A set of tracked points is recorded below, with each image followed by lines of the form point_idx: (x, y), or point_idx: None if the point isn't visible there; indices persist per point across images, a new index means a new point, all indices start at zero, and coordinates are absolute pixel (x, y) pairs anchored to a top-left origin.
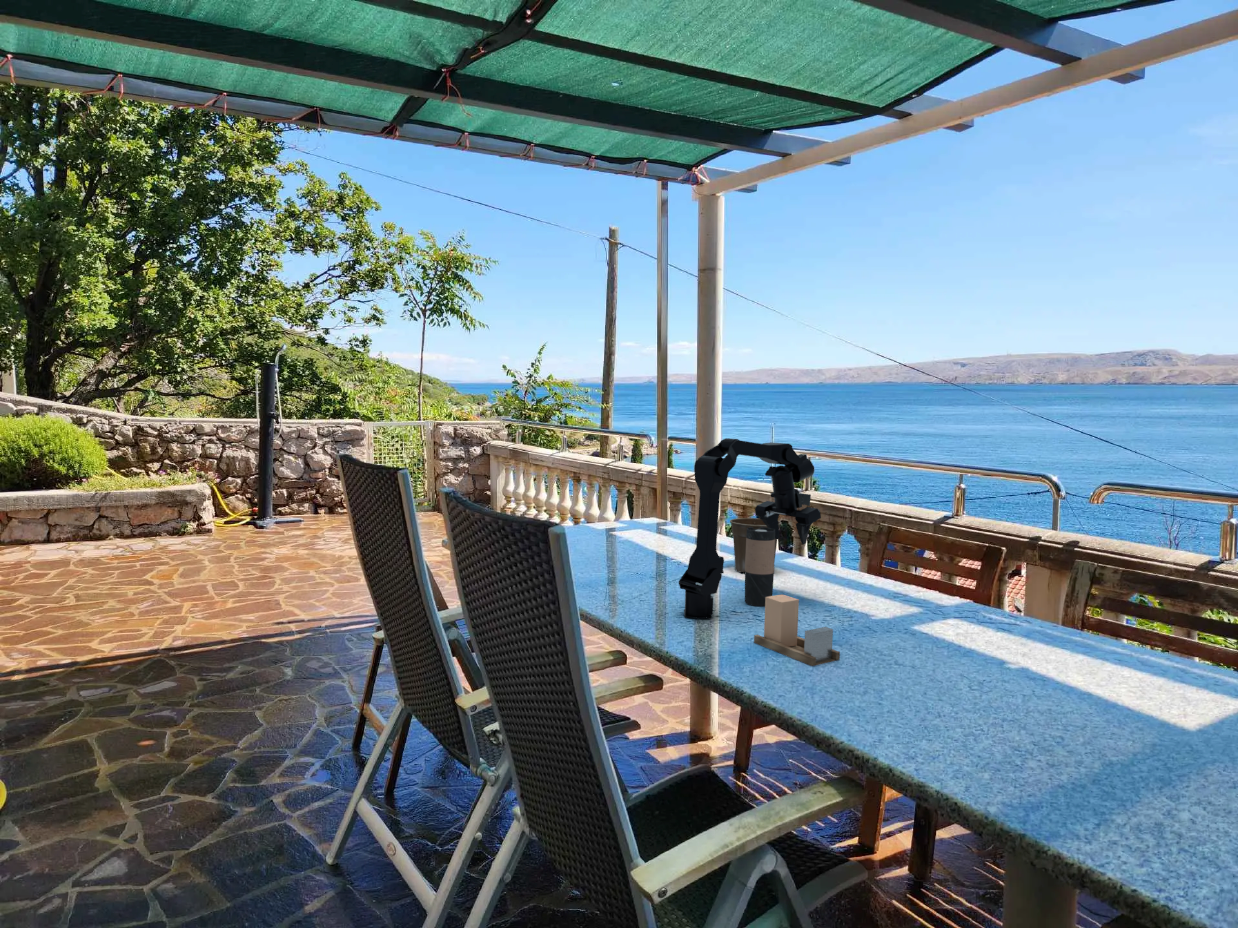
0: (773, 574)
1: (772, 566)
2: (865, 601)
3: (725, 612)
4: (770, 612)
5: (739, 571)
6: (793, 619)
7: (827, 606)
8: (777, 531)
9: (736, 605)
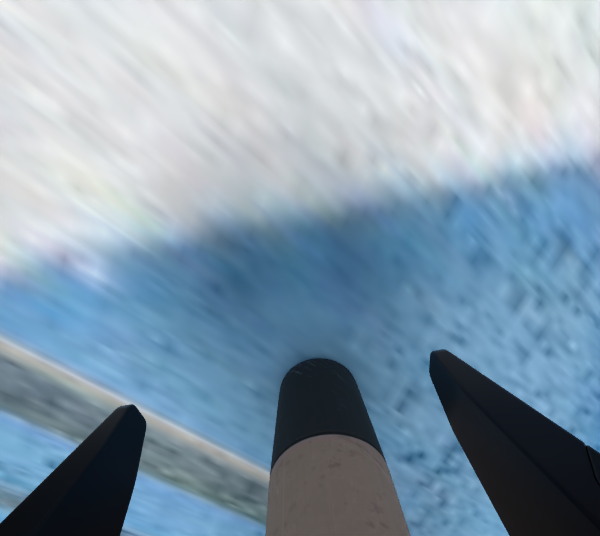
0: (377, 446)
1: (396, 493)
2: (470, 22)
3: None
4: None
5: None
6: None
7: (444, 224)
8: (97, 492)
9: None
